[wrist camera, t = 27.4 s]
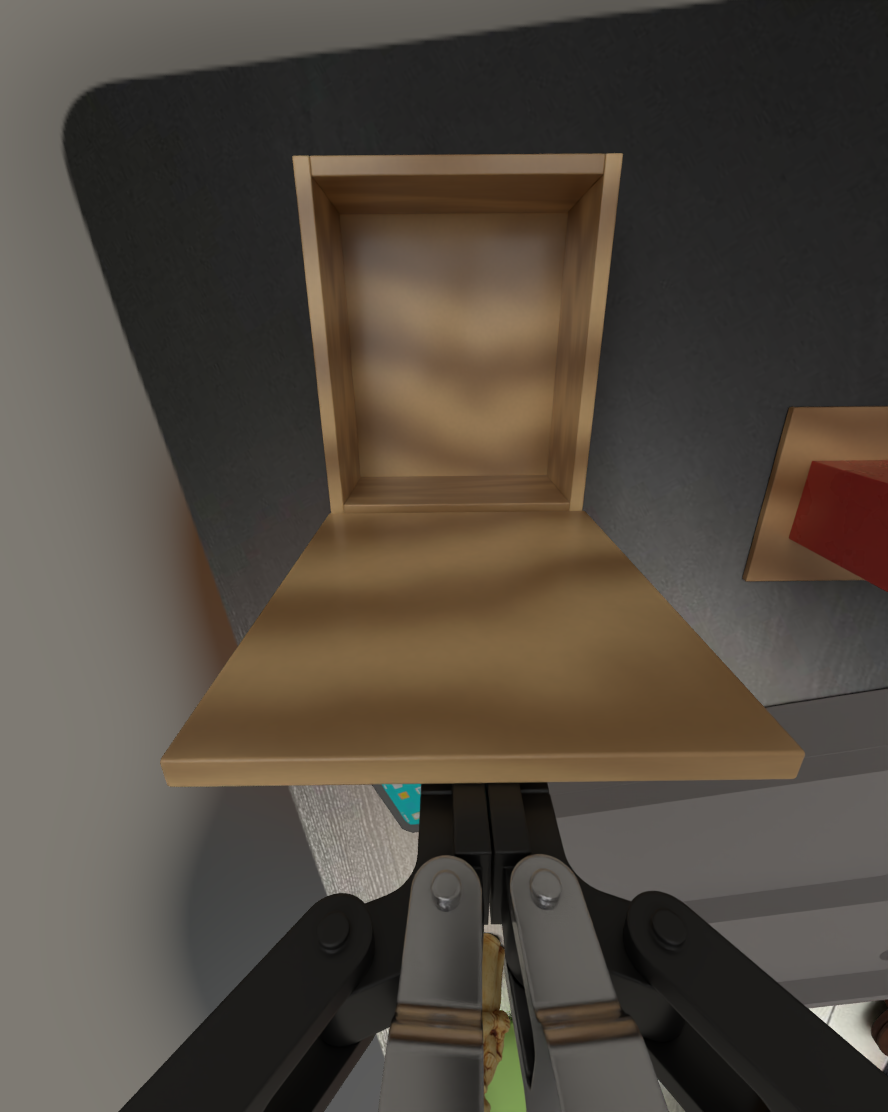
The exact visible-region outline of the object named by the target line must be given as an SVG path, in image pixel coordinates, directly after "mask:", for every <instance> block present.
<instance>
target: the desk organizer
mask: <svg viewBox="0 0 888 1112" xmlns="http://www.w3.org/2000/svg"><path fill="white" fill-rule="evenodd" d="M765 709H766V710H767V711H768V712H769V713H770V714H771V715H772V716H773V717H774V718H775V719H776V721H777V722H778V723H779V724H780V725H781V726H782V727H783V728H784V729H785V730H786V731H787V733H788V734H789V735H790V736H791V737H792V738H793V739H794V740H795V741H796V742H797V743H798V745H799V746H800V747H801V748H802V749H803V750H804V752H805V757H804V759H803V762H802V764H801V767H800V769H799V772H798V775H797V777H796V778H794V779H766V780H686V781H607V782H547V783H548V788H549V794H550V796H551V800H552V804H553V808H554V812H555V816H556V820H557V824H558V828H559V832H560V836H561V840H562V845H563V849H564V852H565V855H566V858H567V860H568V862H569V864H570V866H571V867H572V869H573V870H574V871H575V873H576V874H577V875H578V876H579V877H580V878H581V879H582V880H583V881H585V882H586V883H587V884H589V885H590V886H592V887H594V888H595V889H597V890H600V891H602V892H605V893H608V894H611V895H614V896H617V897H620V898H623V899H626V900H629V901H632V900H633V899H634V898H635V897H636V896H637V895H638V894H640V893H642V892H646V891H660V892H664V893H667V894H670V895H672V896H674V897H676V898H677V899H679V900H681V901H682V902H683V903H685V904H686V905H687V906H688V907H689V908H691V909H692V910H693V911H694V912H695V913H697V914H698V915H699V916H700V917H701V918H702V919H704V920H705V921H706V922H707V923H708V924H709V925H711V926H712V927H713V928H714V929H715V930H716V931H718V932H719V933H720V934H721V935H722V936H724V937H725V938H726V939H727V940H728V941H729V942H731V943H732V944H733V945H734V946H735V947H736V948H738V949H739V950H740V951H741V952H742V953H744V954H745V955H746V956H747V957H748V958H749V959H751V960H752V961H753V962H754V963H755V964H756V965H758V966H759V967H760V968H761V969H762V970H763V971H765V972H766V973H767V974H768V975H769V976H771V977H772V978H773V979H774V980H775V981H776V982H778V983H779V984H780V985H781V986H782V987H783V988H785V989H786V990H787V991H788V992H789V993H791V994H792V995H793V996H794V997H795V998H796V999H798V1000H799V1001H800V1002H801V1003H802V1004H803V1005H805V1006H806V1007H807V1008H816V1007H824V1006H833V1005H842V1004H851V1003H860V1002H868V1001H877V1000H886V999H888V689H882V690H876V691H870V692H863V693H857V694H850V695H844V696H837V697H831V698H824V699H818V700H812V701H805V702H799V703H792V704H786V705H779V706H773V707H767V708H765Z"/></svg>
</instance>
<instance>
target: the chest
mask: <svg viewBox="0 0 888 1112" xmlns="http://www.w3.org/2000/svg"><path fill="white" fill-rule="evenodd" d="M622 158H623V154H622V153H607V154H606V155H605V154H473V155H340V156H310V157H309V156H293V167H294V177H295V186H296V195H297V204H298V213H299V222H300V231H301V241H302V250H303V259H304V268H305V277H306V286H307V295H308V305H309V314H310V323H311V332H312V341H313V350H314V360H315V369H316V378H317V387H318V396H319V405H320V414H321V424H322V433H323V442H324V451H325V460H326V469H327V478H328V488H329V497H330V506H331V514H340V513H435V512H531V511H582V508H583V499H584V490H585V482H586V473H587V464H588V455H589V447H590V438H591V429H592V420H593V412H594V403H595V394H596V385H597V377H598V368H599V359H600V350H601V342H602V333H603V324H604V315H605V307H606V298H607V289H608V280H609V272H610V263H611V254H612V245H613V237H614V228H615V219H616V210H617V202H618V193H619V184H620V175H621V167H622Z"/></svg>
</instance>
